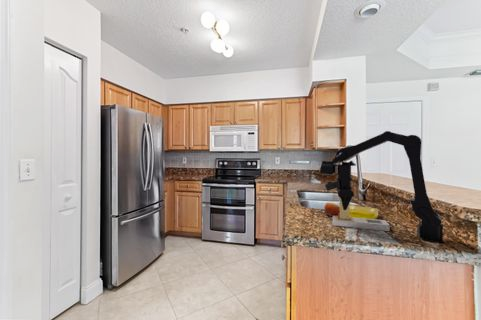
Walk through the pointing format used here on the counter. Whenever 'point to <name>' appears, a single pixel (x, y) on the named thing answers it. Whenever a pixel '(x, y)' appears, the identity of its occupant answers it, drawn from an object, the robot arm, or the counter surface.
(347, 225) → the rail bar
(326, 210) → the fruit
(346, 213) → the brass peg
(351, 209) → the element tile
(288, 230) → the counter surface
